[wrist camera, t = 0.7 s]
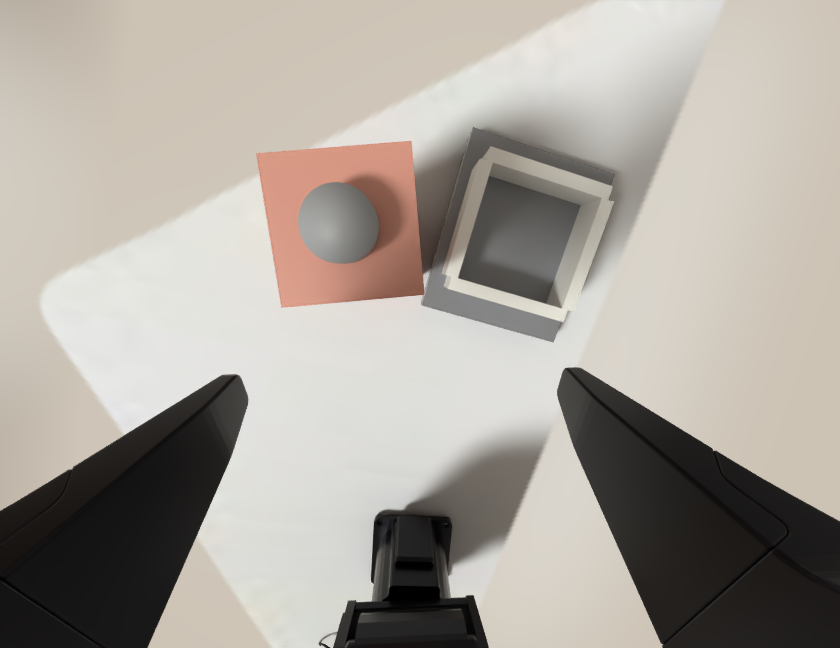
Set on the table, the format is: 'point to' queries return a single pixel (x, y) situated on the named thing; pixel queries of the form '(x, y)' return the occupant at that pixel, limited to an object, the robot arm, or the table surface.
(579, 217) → the grey socket base
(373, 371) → the table surface
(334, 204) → the pink square bar
